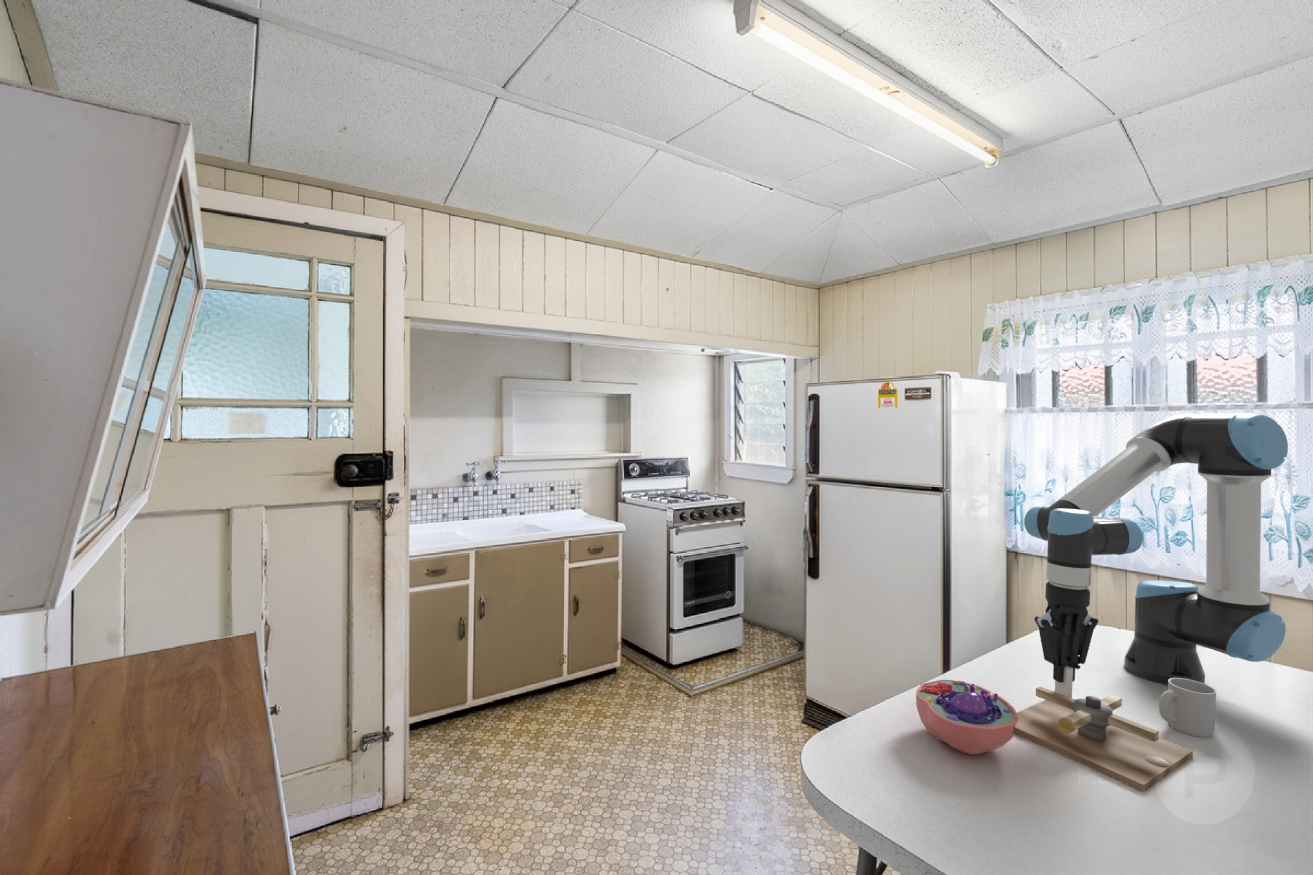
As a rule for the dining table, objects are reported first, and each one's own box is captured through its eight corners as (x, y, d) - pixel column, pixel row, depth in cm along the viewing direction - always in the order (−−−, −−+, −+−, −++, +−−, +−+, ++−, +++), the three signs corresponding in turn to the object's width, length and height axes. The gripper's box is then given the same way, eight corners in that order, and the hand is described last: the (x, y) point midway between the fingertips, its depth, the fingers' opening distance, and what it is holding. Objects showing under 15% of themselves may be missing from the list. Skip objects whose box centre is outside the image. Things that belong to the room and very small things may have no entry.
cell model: (1000, 725, 119) (1002, 670, 119) (1027, 782, 100) (1029, 717, 100) (910, 710, 125) (912, 658, 125) (920, 762, 106) (921, 700, 106)
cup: (1224, 738, 116) (1226, 694, 115) (1175, 738, 115) (1177, 693, 115) (1190, 719, 123) (1192, 677, 123) (1144, 719, 123) (1145, 677, 122)
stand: (1052, 701, 130) (1053, 683, 130) (1192, 756, 109) (1193, 734, 109) (999, 725, 119) (999, 705, 119) (1143, 791, 98) (1144, 767, 98)
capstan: (1062, 686, 128) (1062, 668, 127) (1178, 729, 110) (1179, 708, 110) (1007, 710, 117) (1008, 691, 116) (1127, 761, 99) (1128, 739, 99)
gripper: (1080, 578, 125) (1075, 686, 126) (1025, 579, 124) (1021, 689, 124) (1112, 588, 118) (1107, 703, 119) (1054, 590, 116) (1049, 706, 117)
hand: (1063, 696), depth 121 cm, fingers closed
